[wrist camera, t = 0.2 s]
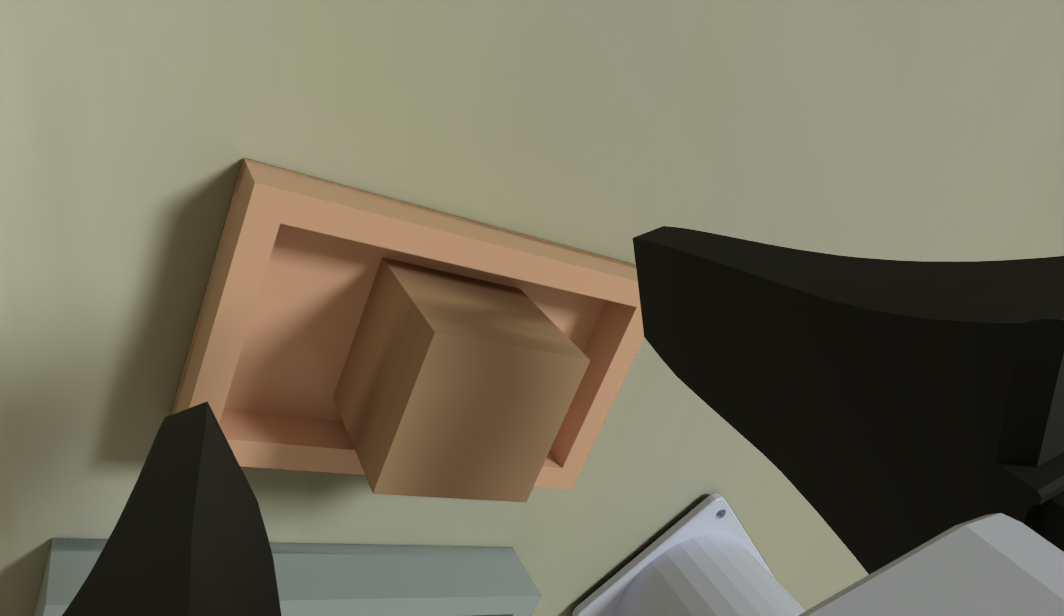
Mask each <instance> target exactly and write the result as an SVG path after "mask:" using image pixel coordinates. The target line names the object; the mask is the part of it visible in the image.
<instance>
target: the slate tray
mask: <svg viewBox="0 0 1064 616" xmlns="http://www.w3.org/2000/svg"><path fill="white" fill-rule="evenodd" d="M107 541H108V539H59V538H52V542H51V546H50V550H49V554H48V558H47V562H46V566H45V570H44V574H43V578H42V582H41V586H40V590H39V594H38V598H37V603H36V607H35V611H34V615H33V616H62V615H63V613H64V612H65V610H66V609H67V608H68V606H69V605H70V603H71V602H72V600H73V599H74V597H75V596H76V594H77V593H78V591H79V590H80V588H81V586H82V585H83V583H84V582H85V580H86V579H87V577H88V575H89V574H90V572H91V570H92V568H93V567H94V565H95V563H96V561H97V559H98V557H99V556H100V554H101V552H102V550H103V548H104V546H105V545H106V543H107ZM269 544H270V548H271V551H272V555H273V560H274V567H275V574H276V581H277V588H278V594H279V601H280V609H281V616H532V614H533V612H534V610H535V608H536V606H537V604H538V602H539V600H540V597H541V594H540V593H539V591H538V589H537V588H536V586H535V584H534V583H533V581H532V579H531V577H530V576H529V574H528V572H527V571H526V569H525V567H524V566H523V564H522V562H521V561H520V559H519V557H518V556H517V554H516V552H515V550H514V549H513V548H511V547H460V546H410V545H360V544H310V543H269Z"/></svg>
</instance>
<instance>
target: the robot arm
mask: <svg viewBox="0 0 1064 616" xmlns="http://www.w3.org/2000/svg"><path fill="white" fill-rule="evenodd" d="M633 244H634V252H635V261H636V270H637V279H638V287H639V296H640V305H641V314H642V322H643V331H644V337H645V338H646V339H647V341H648V342H649V343H650V344H651V346H652V347H653V348H654V349H655V351H656V352H657V353H658V355H659V356H660V357H661V358H662V360H663V361H664V362H665V363H666V364H667V365H668V366H669V368H670V369H671V370H672V371H673V372H674V373H675V375H676V376H677V377H678V378H679V379H680V380H681V381H683V382H684V383H685V384H686V385H687V386H688V387H689V388H690V389H691V390H692V391H693V392H694V393H696V394H697V395H698V396H699V397H700V398H701V399H702V400H703V401H704V402H705V403H707V404H708V405H709V406H710V407H711V408H712V409H713V410H714V411H716V412H717V413H718V414H719V415H720V416H721V417H722V418H723V419H725V420H726V421H727V422H728V423H729V424H730V425H731V426H732V427H734V428H735V429H736V430H737V431H738V432H739V433H740V434H741V435H743V436H744V437H745V438H746V439H747V440H748V441H749V442H750V443H752V444H753V445H754V446H755V447H756V448H757V449H758V450H759V451H761V452H762V453H763V454H764V455H765V456H766V457H767V458H768V459H769V460H770V461H771V462H772V463H773V464H774V465H775V466H776V467H777V468H778V469H779V470H780V471H781V472H782V473H783V474H784V475H785V476H786V477H787V478H788V480H789V481H790V482H791V483H792V484H793V485H794V486H795V487H796V488H797V490H798V491H799V492H800V493H801V494H802V495H803V496H804V497H805V498H806V500H807V501H808V502H809V503H810V504H811V505H812V506H813V507H814V509H815V510H816V511H817V512H818V513H819V514H820V515H821V517H822V518H823V519H824V520H825V521H826V523H827V524H828V525H829V526H830V527H831V529H832V530H833V531H834V532H835V533H836V534H837V536H838V537H839V538H840V539H841V540H842V542H843V543H844V544H845V545H846V546H847V548H848V549H849V550H850V551H851V552H852V553H853V555H854V556H855V557H856V558H857V560H858V561H859V562H860V564H861V565H862V566H863V567H864V569H865V570H866V571H867V572H868V574H869V575H868V576H866V577H864V578H863V579H861V580H859V581H858V582H856V583H854V584H852V585H851V586H849V587H847V588H845V589H844V590H842V591H840V592H838V593H837V594H835V595H833V596H831V597H830V598H828V599H826V600H824V601H823V602H821V603H819V604H817V605H816V606H814V607H812V608H810V609H809V610H807V611H805V610H804V609H803V608H802V607H801V606H800V605H799V604H798V603H797V602H796V601H795V600H794V599H793V598H792V596H791V595H790V594H789V593H788V592H787V591H786V590H785V589H784V588H783V587H782V586H781V585H780V584H779V583H778V582H777V581H776V579H775V578H774V577H773V575H772V573H771V572H770V570H769V569H768V567H767V566H766V564H765V562H764V561H763V559H762V558H761V556H760V554H759V553H758V551H757V550H756V548H755V547H754V545H753V543H752V542H751V540H750V539H749V537H748V535H747V534H746V532H745V531H744V529H743V527H742V526H741V524H740V523H739V521H738V520H737V518H736V516H735V515H734V513H733V512H732V510H731V508H730V507H729V505H728V504H727V502H726V501H725V499H724V498H723V497H722V496H721V495H719V494H716V493H715V494H712V495H710V496H708V497H707V498H706V499H704V500H703V501H702V502H701V503H700V504H698V505H697V506H696V507H695V508H694V509H692V510H691V511H690V512H689V513H688V514H687V515H685V516H684V517H683V518H682V519H681V520H679V521H678V522H677V523H676V524H675V525H673V526H672V527H671V528H670V529H669V530H667V531H666V532H665V533H664V534H663V535H661V536H660V537H659V538H658V539H657V540H655V541H654V542H653V543H652V544H651V545H650V546H648V547H647V548H646V549H645V550H644V551H642V552H641V553H640V554H639V555H638V556H636V557H635V558H634V559H633V560H632V561H630V562H629V563H628V564H627V565H626V566H624V567H623V568H622V569H621V570H620V571H619V572H617V573H616V574H615V575H614V576H613V577H611V578H610V579H609V580H608V581H607V582H605V583H604V584H603V585H602V586H601V587H599V588H598V589H597V590H596V591H595V592H593V593H592V594H591V595H590V596H589V597H587V598H586V599H585V600H584V601H583V602H582V603H580V604H579V605H578V606H577V607H576V608H575V609H574V611H573V613H572V616H1064V256H1059V257H1049V258H1035V259H1020V260H1006V261H981V262H918V261H896V260H882V259H868V258H856V257H847V256H838V255H831V254H824V253H817V252H810V251H803V250H797V249H791V248H785V247H779V246H774V245H768V244H763V243H758V242H753V241H748V240H742V239H737V238H732V237H727V236H722V235H717V234H712V233H707V232H702V231H696V230H690V229H684V228H676V227H665V226H663V227H660V228H658V229H655V230H653V231H650V232H647V233H645V234H642V235H640V236H637V237H634V238H633ZM62 616H281V609H280V601H279V594H278V588H277V581H276V574H275V567H274V560H273V555H272V551H271V548H270V544H269V540H268V537H267V533H266V530H265V526H264V523H263V519H262V516H261V512H260V509H259V505H258V502H257V499H256V497H255V495H254V493H253V491H252V489H251V487H250V485H249V483H248V481H247V479H246V477H245V475H244V473H243V471H242V469H241V467H240V465H239V463H238V461H237V459H236V457H235V455H234V453H233V451H232V449H231V447H230V445H229V443H228V441H227V439H226V437H225V435H224V433H223V431H222V429H221V427H220V425H219V423H218V421H217V419H216V417H215V415H214V413H213V411H212V409H211V407H210V405H209V403H208V401H207V402H204V403H201V404H199V405H196V406H194V407H191V408H188V409H186V410H183V411H181V412H178V413H175V414H173V415H170V416H168V417H165V418H164V420H163V422H162V424H161V426H160V428H159V430H158V433H157V435H156V437H155V440H154V442H153V445H152V447H151V449H150V452H149V454H148V457H147V459H146V461H145V464H144V466H143V468H142V471H141V473H140V475H139V478H138V480H137V482H136V484H135V486H134V489H133V491H132V493H131V495H130V497H129V499H128V501H127V503H126V505H125V508H124V510H123V512H122V514H121V516H120V518H119V520H118V522H117V524H116V526H115V528H114V530H113V532H112V534H111V535H110V537H109V539H108V541H107V543H106V545H105V546H104V548H103V550H102V552H101V554H100V556H99V557H98V559H97V561H96V563H95V565H94V567H93V568H92V570H91V572H90V574H89V575H88V577H87V579H86V580H85V582H84V583H83V585H82V586H81V588H80V590H79V591H78V593H77V594H76V596H75V597H74V599H73V600H72V602H71V603H70V605H69V606H68V608H67V609H66V610H65V612H64V613H63V615H62Z"/></svg>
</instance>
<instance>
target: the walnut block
mask: <svg viewBox="0 0 1064 616" xmlns="http://www.w3.org/2000/svg"><path fill="white" fill-rule="evenodd" d="M589 363H590V359H589V358H588V357H587V356H586V355H585V354H584V353H583V352H582V351H581V350H580V349H579V348H578V347H577V346H576V345H575V344H574V343H573V342H572V341H571V340H570V339H569V338H568V337H567V336H566V335H565V334H564V333H563V332H562V331H561V330H560V329H559V328H558V327H557V326H556V325H555V324H554V323H553V322H552V321H551V320H550V319H549V318H548V317H547V316H546V315H545V314H544V313H543V312H542V311H541V310H540V309H539V308H538V307H537V306H536V305H535V304H534V303H533V302H532V301H531V300H530V299H529V297H528V296H527V295H526V294H525V293H524V292H523V291H522V290H521V289H519V288H515V287H510V286H506V285H502V284H497V283H493V282H488V281H484V280H480V279H475V278H471V277H466V276H462V275H458V274H453V273H449V272H445V271H440V270H436V269H431V268H427V267H423V266H418V265H414V264H409V263H405V262H401V261H396V260H392V259H387V258H383V257H382V259H381V262H380V265H379V268H378V270H377V273H376V276H375V279H374V282H373V285H372V288H371V290H370V293H369V296H368V299H367V302H366V305H365V307H364V310H363V313H362V316H361V319H360V322H359V325H358V327H357V330H356V333H355V336H354V339H353V342H352V344H351V347H350V350H349V353H348V356H347V359H346V362H345V364H344V367H343V370H342V373H341V376H340V379H339V381H338V384H337V387H336V390H335V393H334V396H333V399H334V401H335V404H336V406H337V408H338V411H339V413H340V416H341V418H342V420H343V423H344V425H345V428H346V430H347V432H348V435H349V437H350V440H351V442H352V444H353V447H354V449H355V452H356V454H357V456H358V459H359V461H360V464H361V466H362V468H363V471H364V473H365V476H366V478H367V480H368V483H369V485H370V488H371V490H372V492H373V494H390V495H407V496H425V497H443V498H460V499H478V500H496V501H513V502H527V500H528V497H529V495H530V493H531V491H532V489H533V486H534V484H535V482H536V480H537V478H538V475H539V473H540V471H541V469H542V466H543V464H544V462H545V460H546V458H547V455H548V453H549V451H550V449H551V447H552V444H553V442H554V440H555V438H556V436H557V433H558V431H559V429H560V427H561V424H562V422H563V420H564V418H565V416H566V413H567V411H568V409H569V407H570V405H571V402H572V400H573V398H574V396H575V394H576V391H577V389H578V387H579V385H580V383H581V380H582V378H583V376H584V374H585V371H586V369H587V367H588V365H589Z"/></svg>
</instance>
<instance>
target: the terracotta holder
mask: <svg viewBox="0 0 1064 616" xmlns="http://www.w3.org/2000/svg"><path fill="white" fill-rule="evenodd" d="M382 257H383V258H387V259H392V260H396V261H401V262H405V263H409V264H414V265H418V266H423V267H427V268H431V269H436V270H440V271H445V272H449V273H453V274H458V275H462V276H466V277H471V278H475V279H480V280H484V281H488V282H493V283H497V284H502V285H506V286H510V287H515V288H519V289H521V290H522V291H523V292H524V293H525V294H526V295H527V296H528V297H529V299H530V300H531V301H532V302H533V303H534V304H535V305H536V306H537V307H538V308H539V309H540V310H541V311H542V312H543V313H544V314H545V315H546V316H547V317H548V318H549V319H550V320H551V321H552V322H553V323H554V324H555V325H556V326H557V327H558V328H559V329H560V330H561V331H562V332H563V333H564V334H565V335H566V336H567V337H568V338H569V339H570V340H571V341H572V342H573V343H574V344H575V345H576V346H577V347H578V348H579V349H580V350H581V351H582V352H583V353H584V354H585V355H586V356H587V357H588V358H589V359H590V363H589V365H588V367H587V369H586V371H585V374H584V376H583V378H582V380H581V383H580V385H579V387H578V389H577V391H576V394H575V396H574V398H573V400H572V402H571V405H570V407H569V409H568V411H567V413H566V416H565V418H564V420H563V422H562V424H561V427H560V429H559V431H558V433H557V436H556V438H555V440H554V442H553V444H552V447H551V449H550V451H549V453H548V455H547V458H546V460H545V462H544V464H543V466H542V469H541V471H540V473H539V475H538V478H537V480H536V482H535V484H534V486H533V487H544V488H558V489H573V488H574V485H575V483H576V481H577V479H578V477H579V475H580V473H581V471H582V468H583V466H584V464H585V462H586V460H587V458H588V456H589V454H590V451H591V449H592V447H593V445H594V443H595V441H596V439H597V437H598V434H599V432H600V430H601V428H602V426H603V424H604V422H605V420H606V417H607V415H608V413H609V411H610V409H611V407H612V405H613V402H614V400H615V398H616V396H617V394H618V392H619V390H620V388H621V385H622V383H623V381H624V379H625V377H626V375H627V373H628V371H629V368H630V366H631V364H632V362H633V360H634V358H635V356H636V354H637V351H638V349H639V347H640V345H641V343H642V341H643V339H644V331H643V322H642V314H641V305H640V296H639V287H638V279H637V270H636V266H635V265H634V264H632V263H628V262H624V261H621V260H617V259H613V258H610V257H606V256H602V255H599V254H595V253H591V252H588V251H584V250H580V249H577V248H573V247H569V246H566V245H562V244H558V243H555V242H551V241H547V240H544V239H540V238H536V237H533V236H529V235H525V234H522V233H518V232H514V231H510V230H507V229H503V228H499V227H496V226H492V225H488V224H485V223H481V222H477V221H474V220H470V219H466V218H463V217H459V216H455V215H452V214H448V213H444V212H441V211H437V210H433V209H430V208H426V207H422V206H419V205H415V204H411V203H408V202H404V201H400V200H397V199H393V198H389V197H386V196H382V195H378V194H375V193H371V192H367V191H363V190H360V189H356V188H352V187H349V186H345V185H341V184H338V183H334V182H330V181H327V180H323V179H319V178H316V177H312V176H308V175H305V174H301V173H297V172H294V171H290V170H286V169H283V168H279V167H275V166H272V165H268V164H264V163H261V162H257V161H253V160H250V159H246V158H243V162H242V165H241V169H240V173H239V176H238V180H237V183H236V187H235V190H234V194H233V197H232V201H231V204H230V208H229V211H228V215H227V218H226V222H225V225H224V229H223V232H222V236H221V239H220V243H219V246H218V250H217V253H216V257H215V260H214V264H213V267H212V271H211V274H210V278H209V281H208V285H207V288H206V292H205V295H204V299H203V302H202V306H201V309H200V313H199V316H198V320H197V323H196V327H195V330H194V334H193V337H192V341H191V344H190V348H189V351H188V355H187V358H186V362H185V365H184V369H183V373H182V376H181V380H180V383H179V387H178V390H177V394H176V397H175V401H174V404H173V408H172V411H171V415H173V414H175V413H178V412H181V411H183V410H186V409H188V408H191V407H194V406H196V405H199V404H201V403H204V402H207V401H208V403H209V405H210V407H211V409H212V411H213V413H214V415H215V417H216V419H217V421H218V423H219V425H220V427H221V429H222V431H223V433H224V435H225V437H226V439H227V441H228V443H229V445H230V447H231V449H232V451H233V453H234V455H235V457H236V459H237V461H238V463H239V465H240V466H242V467H256V468H270V469H285V470H299V471H314V472H328V473H342V474H357V475H365V473H364V471H363V468H362V466H361V464H360V461H359V459H358V456H357V454H356V452H355V449H354V447H353V444H352V442H351V440H350V437H349V435H348V432H347V430H346V428H345V425H344V423H343V420H342V418H341V416H340V413H339V411H338V408H337V406H336V404H335V401H334V399H333V396H334V393H335V390H336V387H337V384H338V381H339V379H340V376H341V373H342V370H343V367H344V364H345V362H346V359H347V356H348V353H349V350H350V347H351V344H352V342H353V339H354V336H355V333H356V330H357V327H358V325H359V322H360V319H361V316H362V313H363V310H364V307H365V305H366V302H367V299H368V296H369V293H370V290H371V288H372V285H373V282H374V279H375V276H376V273H377V270H378V268H379V265H380V262H381V259H382Z"/></svg>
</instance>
